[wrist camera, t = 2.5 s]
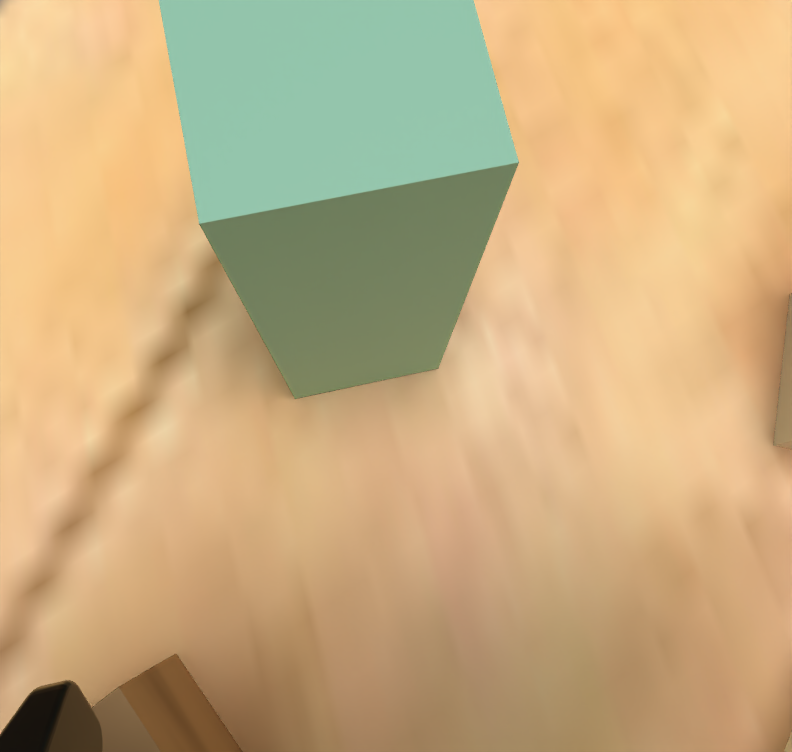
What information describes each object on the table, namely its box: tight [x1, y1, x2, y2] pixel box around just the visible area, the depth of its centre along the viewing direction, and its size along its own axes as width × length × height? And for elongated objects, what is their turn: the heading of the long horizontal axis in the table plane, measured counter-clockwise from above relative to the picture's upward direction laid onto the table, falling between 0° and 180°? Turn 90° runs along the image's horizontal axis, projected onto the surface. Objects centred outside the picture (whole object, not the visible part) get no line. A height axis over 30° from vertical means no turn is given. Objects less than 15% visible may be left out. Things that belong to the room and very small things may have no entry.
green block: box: [159, 0, 519, 399], centre depth 17 cm, size 4×4×13 cm
